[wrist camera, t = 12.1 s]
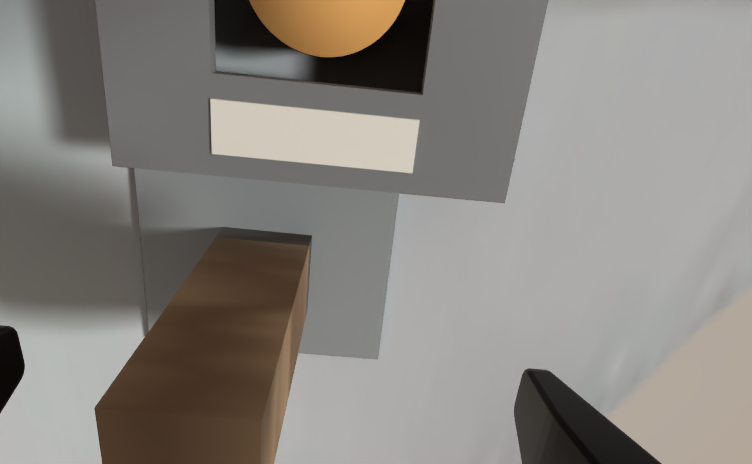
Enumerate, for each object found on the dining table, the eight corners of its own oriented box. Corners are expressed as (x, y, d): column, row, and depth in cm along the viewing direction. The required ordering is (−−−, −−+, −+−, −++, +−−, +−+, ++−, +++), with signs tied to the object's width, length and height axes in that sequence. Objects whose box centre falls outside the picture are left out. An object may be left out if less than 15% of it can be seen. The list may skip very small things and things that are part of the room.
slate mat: (398, 185, 20) (399, 188, 19) (377, 353, 23) (377, 359, 22) (138, 160, 19) (133, 163, 19) (153, 336, 22) (149, 341, 22)
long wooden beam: (312, 235, 20) (261, 420, 11) (307, 310, 21) (258, 532, 12) (223, 226, 20) (94, 407, 11) (224, 303, 21) (110, 522, 12)
